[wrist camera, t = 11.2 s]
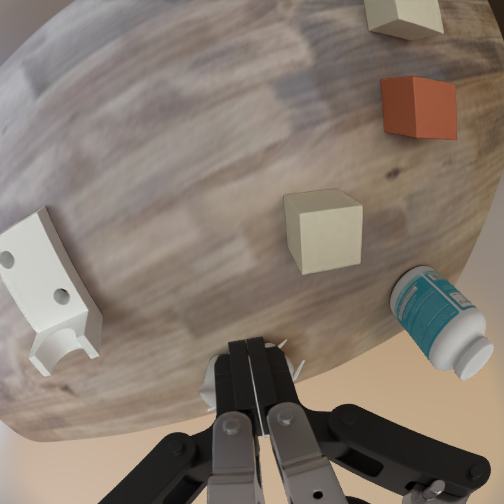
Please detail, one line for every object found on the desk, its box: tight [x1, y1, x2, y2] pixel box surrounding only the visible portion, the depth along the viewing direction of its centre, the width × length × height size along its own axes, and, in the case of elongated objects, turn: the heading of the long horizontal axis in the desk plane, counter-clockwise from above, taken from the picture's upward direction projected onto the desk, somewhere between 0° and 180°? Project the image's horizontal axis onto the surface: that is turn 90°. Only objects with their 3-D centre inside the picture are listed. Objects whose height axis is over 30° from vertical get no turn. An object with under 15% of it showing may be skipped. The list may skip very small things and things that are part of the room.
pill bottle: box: [390, 266, 494, 381], centre depth 25 cm, size 8×7×14 cm
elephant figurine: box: [199, 339, 305, 438], centre depth 29 cm, size 10×12×9 cm
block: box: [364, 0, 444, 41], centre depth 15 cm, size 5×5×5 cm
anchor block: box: [381, 76, 457, 140], centre depth 20 cm, size 5×5×5 cm
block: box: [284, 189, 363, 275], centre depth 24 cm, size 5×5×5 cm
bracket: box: [0, 206, 103, 377], centre depth 21 cm, size 13×7×8 cm, turn 15°
